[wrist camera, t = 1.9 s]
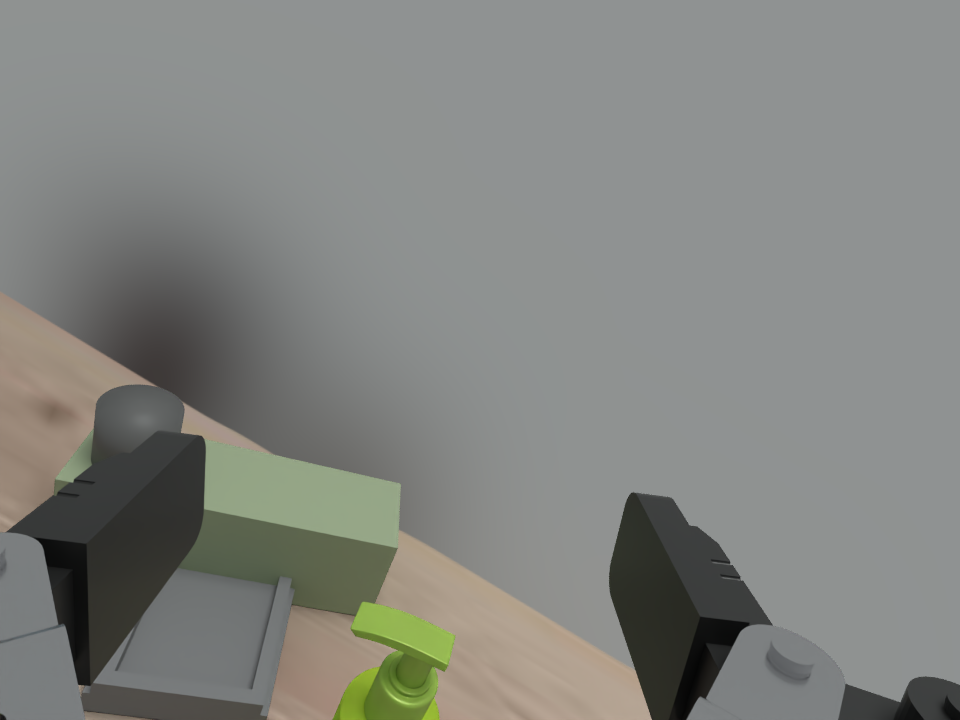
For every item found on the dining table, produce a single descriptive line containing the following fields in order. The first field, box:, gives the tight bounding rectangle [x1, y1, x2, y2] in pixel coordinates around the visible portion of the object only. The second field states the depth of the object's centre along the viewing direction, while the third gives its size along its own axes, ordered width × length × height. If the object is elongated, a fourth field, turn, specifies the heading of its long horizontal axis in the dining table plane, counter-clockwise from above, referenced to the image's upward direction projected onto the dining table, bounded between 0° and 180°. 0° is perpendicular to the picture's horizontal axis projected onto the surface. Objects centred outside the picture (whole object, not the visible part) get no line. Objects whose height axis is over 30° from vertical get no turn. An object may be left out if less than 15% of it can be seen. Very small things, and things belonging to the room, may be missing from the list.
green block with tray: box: [54, 385, 401, 720], centre depth 49 cm, size 19×26×14 cm
